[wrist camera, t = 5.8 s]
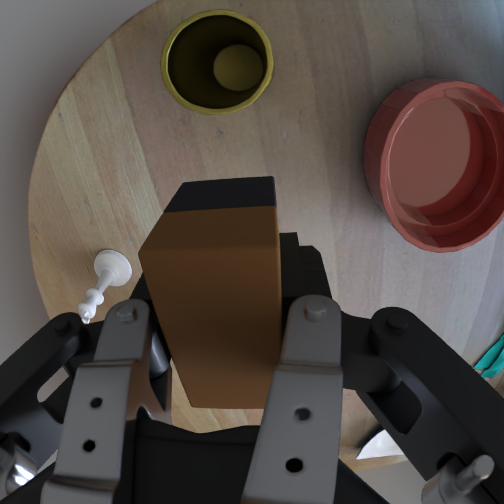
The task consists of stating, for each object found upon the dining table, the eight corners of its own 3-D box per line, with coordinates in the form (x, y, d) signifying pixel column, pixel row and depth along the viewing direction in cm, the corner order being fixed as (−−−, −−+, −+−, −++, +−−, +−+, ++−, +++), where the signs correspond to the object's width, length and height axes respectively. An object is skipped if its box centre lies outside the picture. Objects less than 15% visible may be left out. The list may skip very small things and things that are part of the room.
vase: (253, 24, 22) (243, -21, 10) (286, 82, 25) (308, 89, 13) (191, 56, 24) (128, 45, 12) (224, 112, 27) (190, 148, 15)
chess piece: (131, 288, 37) (101, 347, 29) (95, 277, 37) (60, 333, 28) (133, 255, 35) (98, 313, 26) (95, 245, 34) (54, 298, 26)
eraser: (182, 181, 10) (135, 252, 6) (273, 175, 10) (279, 245, 6) (208, 318, 13) (190, 408, 10) (279, 316, 13) (282, 409, 9)
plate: (349, 451, 62) (350, 461, 60) (392, 408, 51) (395, 419, 49) (417, 446, 63) (419, 454, 61) (464, 403, 53) (467, 412, 50)
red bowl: (359, 69, 24) (380, 70, 19) (495, 89, 23) (528, 97, 18) (357, 229, 32) (372, 258, 28) (479, 224, 31) (503, 247, 26)
